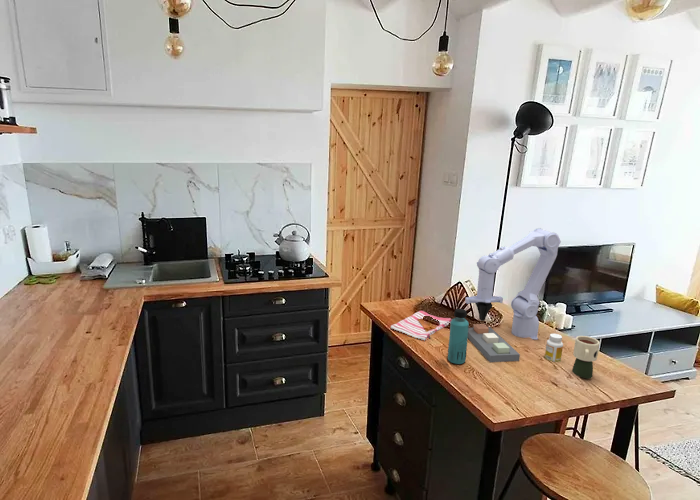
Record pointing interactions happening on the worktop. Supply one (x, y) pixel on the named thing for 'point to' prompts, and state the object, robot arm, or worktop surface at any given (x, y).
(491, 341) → the cream button
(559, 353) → the supplement bottle
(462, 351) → the beverage bottle
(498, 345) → the sage button
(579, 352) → the character mug
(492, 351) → the button console
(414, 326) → the dish towel
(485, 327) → the terracotta button
